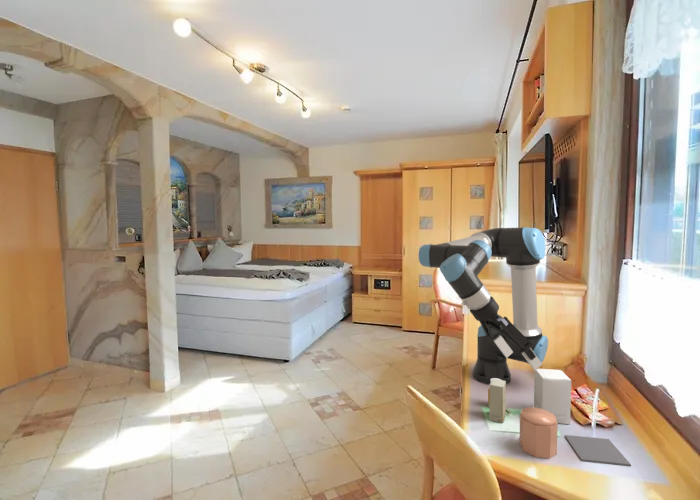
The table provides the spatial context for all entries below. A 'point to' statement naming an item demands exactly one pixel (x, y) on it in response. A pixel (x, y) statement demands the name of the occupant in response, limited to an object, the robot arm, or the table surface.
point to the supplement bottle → (489, 391)
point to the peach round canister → (538, 432)
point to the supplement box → (553, 393)
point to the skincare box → (497, 400)
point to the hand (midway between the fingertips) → (522, 360)
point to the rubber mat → (596, 450)
